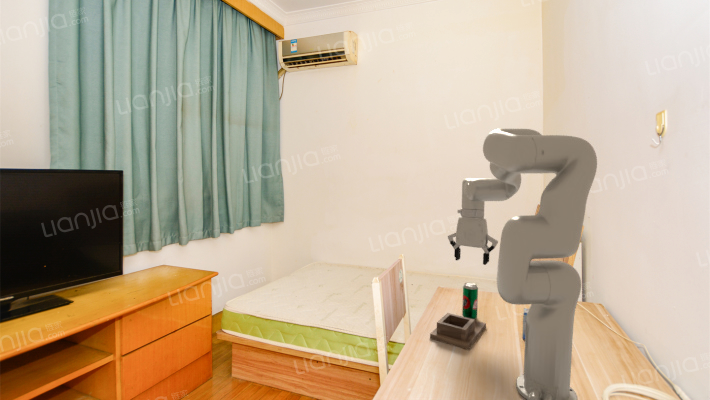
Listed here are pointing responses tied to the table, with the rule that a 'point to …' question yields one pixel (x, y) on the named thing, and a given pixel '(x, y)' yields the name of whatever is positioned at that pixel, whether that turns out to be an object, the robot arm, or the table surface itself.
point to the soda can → (470, 300)
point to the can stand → (458, 330)
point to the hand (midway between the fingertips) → (471, 261)
